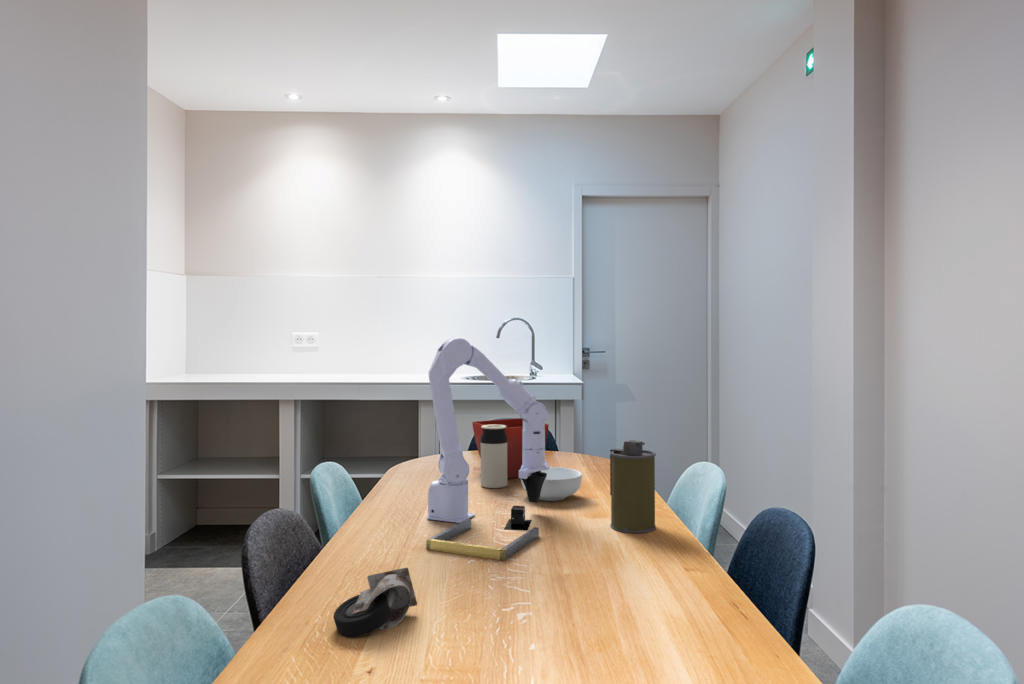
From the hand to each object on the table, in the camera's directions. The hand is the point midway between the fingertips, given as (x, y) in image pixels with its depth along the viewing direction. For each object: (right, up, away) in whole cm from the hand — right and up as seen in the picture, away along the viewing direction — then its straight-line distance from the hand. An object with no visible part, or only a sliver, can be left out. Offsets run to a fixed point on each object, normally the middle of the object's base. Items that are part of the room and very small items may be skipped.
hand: (533, 502), depth 171 cm
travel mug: (-11, -3, +32) cm, 34 cm away
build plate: (-4, -4, -11) cm, 12 cm away
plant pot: (-6, -3, +49) cm, 50 cm away
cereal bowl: (+5, -3, +16) cm, 18 cm away
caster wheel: (-27, -3, -68) cm, 73 cm away
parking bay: (-11, -3, -24) cm, 27 cm away
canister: (+22, -3, -13) cm, 26 cm away
